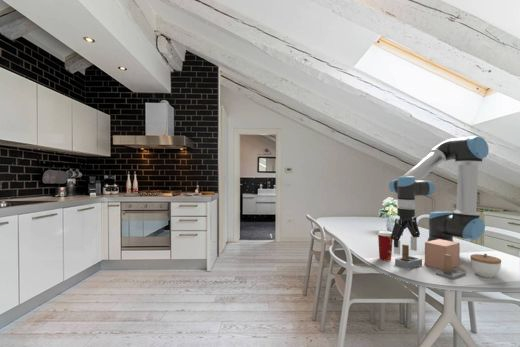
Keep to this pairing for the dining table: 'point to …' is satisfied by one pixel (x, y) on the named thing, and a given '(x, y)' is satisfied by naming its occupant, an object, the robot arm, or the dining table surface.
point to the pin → (405, 252)
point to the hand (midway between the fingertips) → (405, 252)
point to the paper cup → (385, 245)
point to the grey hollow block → (408, 262)
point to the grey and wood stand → (449, 269)
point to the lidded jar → (485, 265)
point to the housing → (441, 252)
